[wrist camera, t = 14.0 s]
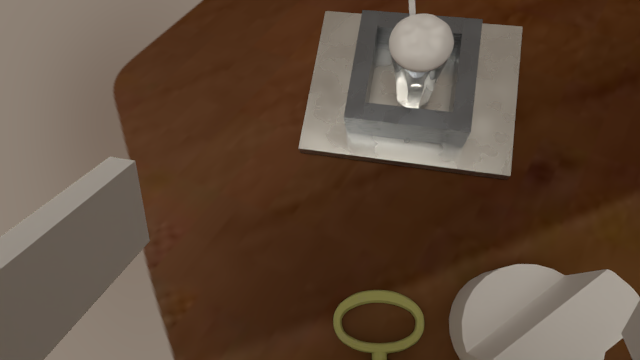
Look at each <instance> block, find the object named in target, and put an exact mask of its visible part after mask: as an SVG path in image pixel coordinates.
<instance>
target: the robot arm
mask: <svg viewBox="0 0 640 360" xmlns="http://www.w3.org/2000/svg"><path fill="white" fill-rule="evenodd" d="M149 241H150V240H149V235H148V229H147V224H146V218H145V213H144V207H143V201H142V196H141V190H140V185H139V179H138V174H137V168H136V163H135V161H133V160H127V159H121V158H115V157H109V158H107V159H106V160H105V161H103V162H102V163H101V164H99V165H98V166H96V167H95V168H94V169H92V170H91V171H90V172H88V173H87V174H85V175H84V176H83V177H82V178H80V179H79V180H77V181H76V182H75V183H73V184H72V185H70V186H69V187H68V188H66V189H65V190H64V191H62V192H61V193H60V194H58V195H57V196H55V197H54V198H53V199H51V200H50V201H48V202H47V203H46V204H44V205H43V206H42V207H41V208H39V209H38V210H36V211H35V212H33V213H32V214H31V215H29V216H28V217H27V218H25V219H24V220H23V221H21V222H20V223H18V224H17V225H16V226H14V227H13V228H12V229H10V230H9V231H7V232H6V233H5V234H3V235H2V236H1V237H0V360H44V359H45V357H46V356H47V355H48V354H49V353H50V352H51V351H52V350H53V349H54V347H55V346H56V345H57V344H58V343H59V342H60V341H61V340H62V339H63V337H64V336H65V335H66V334H67V333H68V332H69V331H70V330H71V328H72V327H73V326H74V325H75V324H76V323H77V322H78V321H79V320H80V318H81V317H82V316H83V315H84V314H85V313H86V312H87V311H88V309H89V308H90V307H91V306H92V305H93V304H94V303H95V302H96V301H97V299H98V298H99V297H100V296H101V295H102V294H103V293H104V292H105V290H106V289H107V288H108V287H109V286H110V285H111V284H112V283H113V281H114V280H115V279H116V278H117V277H118V276H119V275H120V274H121V273H122V271H123V270H124V269H125V268H126V267H127V266H128V265H129V264H130V262H131V261H132V260H133V259H134V258H135V257H136V256H137V255H138V254H139V252H140V251H141V250H142V249H143V248H144V247H145V246H146V245H147V244H148V242H149ZM621 334H622V336H623V339H624V341H625V343H626V346H627V348H628V350H629V353H630V355H631V357H632V360H640V300H639V302H638V304H637V306H636V307H635V309H634V311H633V313H632V315H631V316H630V318H629V320H628V322H627V324H626V325H625V327H624V329H623V331H622V332H621Z"/></svg>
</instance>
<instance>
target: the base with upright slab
mask: <svg viewBox="0 0 640 360" xmlns="http://www.w3.org/2000/svg"><path fill="white" fill-rule="evenodd" d="M639 300H640V297H639V296H638V295H637V293H636V292H635V290H634V289H633V288H632V287H631V286H629V285H628V284H627V283H626V282H625V281H624V280H623V279H621V278H620V277H619V276H618V275H617V274H616V273H614V272H612V271H611V270H609V269H605V270H598V271H592V272H585V273H578V274H572V275H563V274H561V273H559V272H558V271H556V270H554V269H551V268H547V267H543V266H540V265H536V264H515V265H511V266H507V267H503V268H499V269H496V270H492V271H489V272H486V273H482V274H480V275H478V276H477V277H475V278H473V279H471V280H470V281H468V282H467V283H466V284H465V285H464V286H463V287H462V288H461V290H460V291H459V292H458V294H457V296H456V298H455V299H454V301H453V303H452V307H451V311H450V315H449V334H450V337H451V341H452V344H453V347H454V350H455V352H456V353H457V355H458V357H459V358H460V360H604V356H605V352H606V351H607V350H608V349H610V348H611V347H612V346H613V345H615V344H616V343H617V342H618V341H620V340H621V339H622V338H623V336H622V334H621V332H622V331H623V329H624V327H625V325H626V324H627V322H628V320H629V318H630V316H631V315H632V313H633V311H634V309H635V307H636V306H637V304H638V302H639Z"/></svg>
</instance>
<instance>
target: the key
mask: <svg viewBox="0 0 640 360" xmlns="http://www.w3.org/2000/svg"><path fill="white" fill-rule="evenodd" d="M367 303H388V304H393V305H396V306H399V307H401V308H404V309H406V310H407V311H409V312H410V313H411V314H412V315H413V316H414V318H415V321H416V322H415V329H414V331H413V333H412V334H411V335H410V336H408V337H406V338H404V339H402V340H399V341H396V342H389V343H370V342H364V341H360V340H357V339H355V338H353V337H351V336H349V335H348V334H347V333H346V332H345V331H344V329H343V326H342V318H343V316H344V314H345V313H346V312H347V311H349V310H350V309H352V308H354V307H357V306H359V305H363V304H367ZM333 326H334V330H335V333H336V335H337V336H338V338H339V339H340V340H341V341H342V342H343V343H344V344H346V345H347V346H349V347H351V348H352V349H355V350H358V351H361V352H367V353H372V360H387V353H394V352H399V351H402V350H405V349H408V348H409V347H411V346H412V345H414V344H416V343H417V342H418V340H419V339H420V338H421V336H422V334H423V331H424V315H423V313H422V311H421V309H420V308H419V306H418V305H417V304H416V303H415V302H414V301H413V300H411V299H410V298H408V297H406V296H404V295H402V294H400V293H397V292H393V291H387V290H369V291H362V292H359V293H356V294H354V295H351V296H349V297H348V298H346V299H345V300H343V301H342V302H341V303H340V304H339V305H338V307H337V308H336V310H335V313H334V316H333Z"/></svg>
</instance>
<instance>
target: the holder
mask: <svg viewBox="0 0 640 360" xmlns="http://www.w3.org/2000/svg"><path fill="white" fill-rule="evenodd" d="M406 17H409V14H407V13H394V12H382V11H369V10H362V14H356V13H343V12H330V11H326V12H325V17H324V22H323V27H322V32H321V37H320V42H319V47H318V52H317V57H316V62H315V67H314V72H313V77H312V82H311V87H310V92H309V97H308V103H307V108H306V113H305V118H304V123H303V128H302V133H301V138H300V143H299V150H300V152H301V153H308V154H315V155H323V156H330V157H338V158H346V159H353V160H361V161H368V162H376V163H383V164H391V165H398V166H406V167H414V168H421V169H429V170H436V171H444V172H451V173H459V174H466V175H474V176H482V177H489V178H497V179H504V180H507V179H508V178H509V177H510V176H511V164H512V151H513V139H514V127H515V114H516V102H517V89H518V77H519V65H520V52H521V40H522V27H520V26H507V25H495V24H482V21H483V19H472V18H459V17H446V16H436V17H438V18H440V19H441V20H443V21H444V22H446V23H447V24H448V25H449V27H450V29H451V31H452V35H453V39H454V46H453V50H452V53H451V55H450V56H449V58H448V60H447V62H446V64H445V66H444V68H443V70H442V72H441V74H440V76H439V78H438V80H437V82H436V84H435V87H434V89H433V91H432V94H431V96H430V99H429V101H428V102H427V103H425V104H424V105H422V106H420V107H419V108H411V107H405V106H404V105H402V104H401V103H400V102H398V101H397V98H396V94H395V91H394V82H393V71H392V62H391V56H390V49H389V38H390V35H391V32H392V30H393V29H394V27H395V26H396V25H397V23H399V22H400V21H401V20H403V19H404V18H406Z"/></svg>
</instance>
